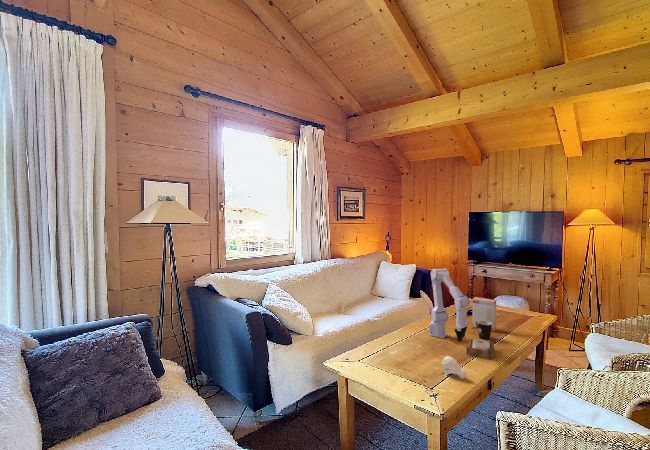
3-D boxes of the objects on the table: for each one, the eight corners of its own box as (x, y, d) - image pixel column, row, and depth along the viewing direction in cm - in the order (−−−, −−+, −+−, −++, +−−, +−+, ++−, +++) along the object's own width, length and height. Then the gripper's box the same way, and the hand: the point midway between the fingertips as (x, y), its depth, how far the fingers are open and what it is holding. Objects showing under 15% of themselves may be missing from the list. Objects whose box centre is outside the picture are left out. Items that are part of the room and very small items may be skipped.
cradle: (466, 354, 191) (466, 345, 190) (470, 345, 203) (471, 337, 203) (491, 359, 184) (491, 350, 183) (494, 349, 197) (494, 341, 196)
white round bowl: (471, 353, 192) (471, 343, 192) (473, 348, 200) (474, 337, 199) (488, 357, 187) (488, 346, 187) (490, 351, 195) (490, 341, 194)
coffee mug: (493, 341, 210) (493, 325, 209) (478, 340, 211) (479, 324, 211) (488, 334, 221) (488, 319, 221) (474, 333, 223) (474, 318, 222)
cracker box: (496, 329, 229) (496, 299, 228) (493, 332, 225) (494, 301, 224) (474, 325, 239) (475, 296, 238) (472, 327, 234) (472, 298, 233)
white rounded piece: (447, 353, 172) (470, 363, 163) (446, 368, 173) (468, 379, 164) (441, 356, 168) (464, 367, 159) (439, 372, 169) (462, 384, 160)
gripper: (466, 321, 190) (466, 344, 191) (470, 314, 202) (470, 336, 203) (453, 319, 194) (453, 342, 195) (458, 312, 206) (458, 334, 207)
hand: (461, 339), depth 199 cm, fingers open, 7 cm apart
